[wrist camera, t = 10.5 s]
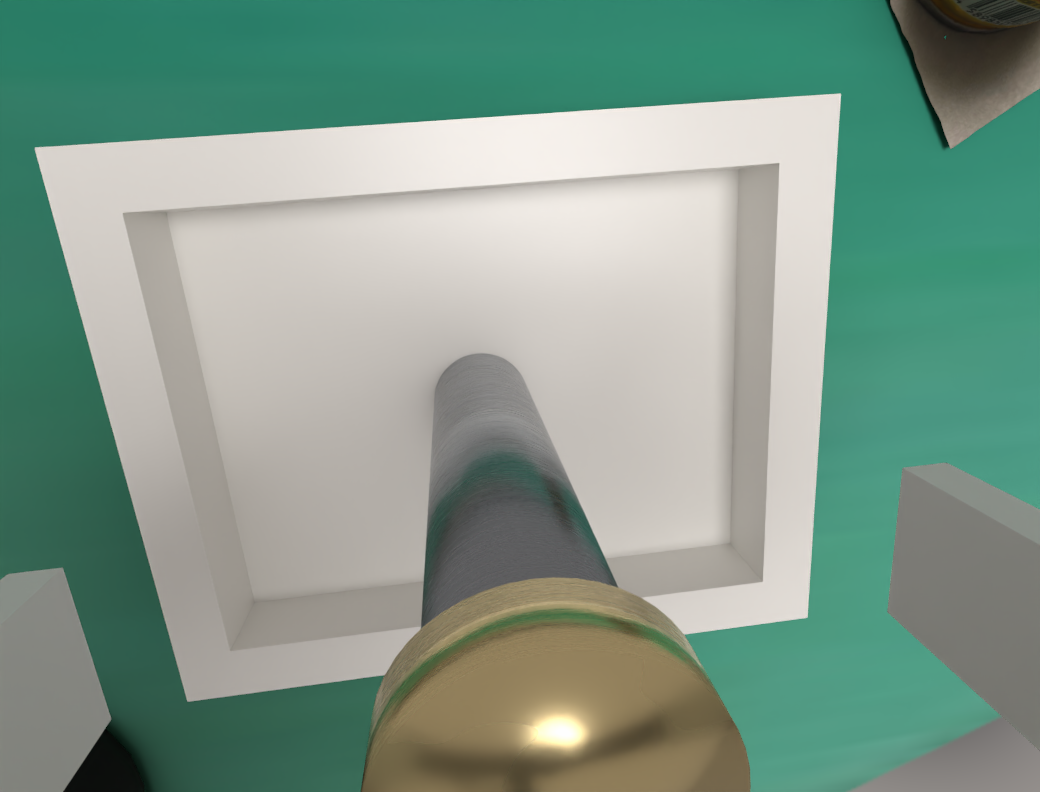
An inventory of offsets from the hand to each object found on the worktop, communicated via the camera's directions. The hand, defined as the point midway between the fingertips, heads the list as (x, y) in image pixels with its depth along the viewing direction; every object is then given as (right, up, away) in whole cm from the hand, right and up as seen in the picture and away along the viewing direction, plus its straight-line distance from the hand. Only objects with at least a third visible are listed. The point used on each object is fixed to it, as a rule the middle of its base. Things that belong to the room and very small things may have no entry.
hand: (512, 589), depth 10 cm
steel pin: (-1, +3, +10) cm, 11 cm away
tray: (-1, +3, +11) cm, 12 cm away
